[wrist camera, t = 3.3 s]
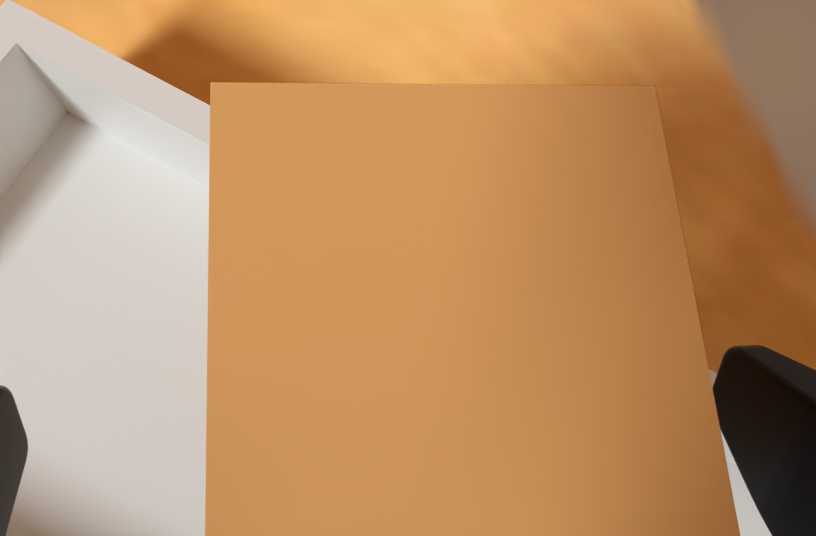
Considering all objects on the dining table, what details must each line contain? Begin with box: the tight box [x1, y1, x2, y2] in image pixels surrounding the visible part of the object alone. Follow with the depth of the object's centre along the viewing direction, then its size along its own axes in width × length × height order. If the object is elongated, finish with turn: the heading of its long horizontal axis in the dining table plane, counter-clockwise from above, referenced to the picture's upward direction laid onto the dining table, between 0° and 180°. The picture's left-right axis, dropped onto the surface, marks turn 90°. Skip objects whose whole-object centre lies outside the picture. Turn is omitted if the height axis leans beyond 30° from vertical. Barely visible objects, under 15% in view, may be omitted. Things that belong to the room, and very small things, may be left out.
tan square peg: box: [205, 82, 740, 536], centre depth 10 cm, size 3×3×12 cm
